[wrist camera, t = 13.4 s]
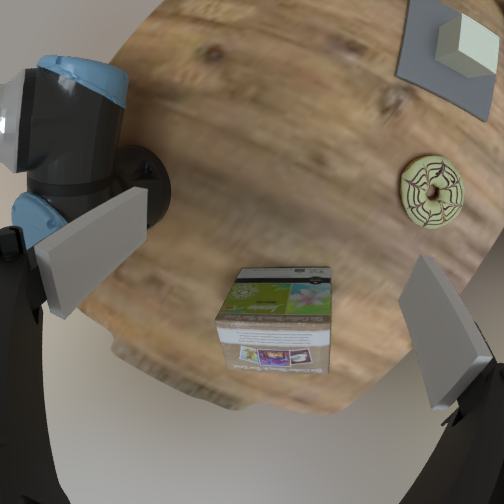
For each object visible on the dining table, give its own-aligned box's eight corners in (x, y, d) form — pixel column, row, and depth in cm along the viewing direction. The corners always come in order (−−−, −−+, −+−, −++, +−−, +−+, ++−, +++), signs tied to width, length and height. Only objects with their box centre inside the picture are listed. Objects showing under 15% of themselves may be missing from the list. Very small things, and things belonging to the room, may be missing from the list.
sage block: (434, 59, 27) (458, 50, 20) (439, 27, 24) (462, 13, 17) (468, 78, 26) (495, 74, 19) (472, 46, 24) (499, 37, 17)
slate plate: (394, 76, 31) (396, 75, 30) (409, -9, 23) (411, -11, 22) (483, 121, 29) (486, 122, 28) (495, 39, 22) (499, 38, 21)
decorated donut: (441, 142, 33) (452, 145, 30) (464, 204, 36) (474, 212, 33) (385, 171, 37) (392, 176, 34) (412, 232, 40) (420, 242, 37)
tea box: (330, 263, 46) (333, 323, 33) (330, 313, 50) (330, 377, 37) (239, 266, 49) (212, 321, 36) (248, 313, 53) (227, 373, 40)
